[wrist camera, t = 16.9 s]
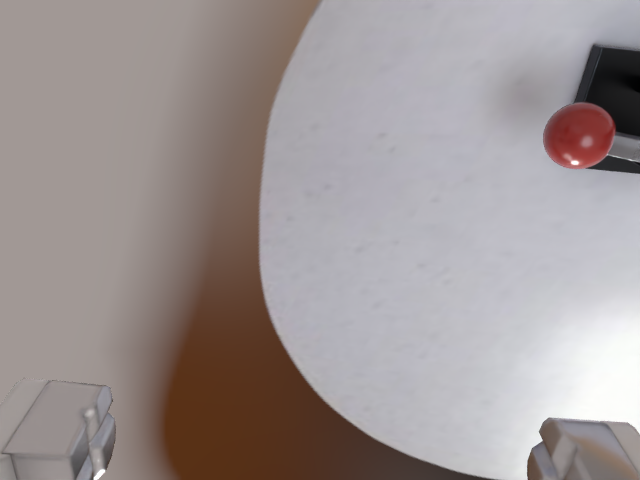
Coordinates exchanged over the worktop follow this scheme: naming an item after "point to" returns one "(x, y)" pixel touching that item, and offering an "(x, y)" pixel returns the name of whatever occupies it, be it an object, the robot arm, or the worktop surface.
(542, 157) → the worktop surface
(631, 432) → the robot arm
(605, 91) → the bracket
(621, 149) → the lever
